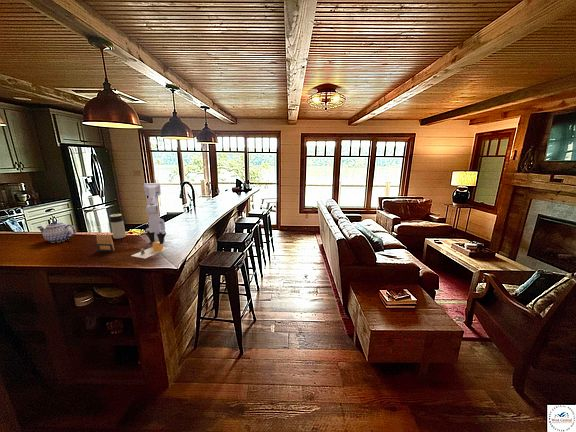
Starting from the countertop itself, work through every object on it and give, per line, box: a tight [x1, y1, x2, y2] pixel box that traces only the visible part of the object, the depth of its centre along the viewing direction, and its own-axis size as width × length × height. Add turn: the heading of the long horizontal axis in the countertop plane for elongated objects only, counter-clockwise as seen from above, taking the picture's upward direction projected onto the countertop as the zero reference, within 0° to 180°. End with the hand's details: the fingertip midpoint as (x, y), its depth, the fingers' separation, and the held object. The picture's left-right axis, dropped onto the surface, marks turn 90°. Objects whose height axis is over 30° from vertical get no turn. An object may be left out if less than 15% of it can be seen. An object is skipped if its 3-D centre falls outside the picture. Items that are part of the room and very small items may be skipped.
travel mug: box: [109, 213, 127, 240], centre depth 176 cm, size 8×8×18 cm
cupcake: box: [151, 241, 164, 252], centre depth 151 cm, size 6×6×5 cm
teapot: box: [36, 220, 77, 244], centre depth 168 cm, size 25×15×15 cm, turn 93°
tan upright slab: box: [96, 233, 116, 253], centre depth 151 cm, size 11×2×12 cm, turn 87°
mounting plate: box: [131, 246, 168, 259], centre depth 148 cm, size 12×18×5 cm, turn 162°
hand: (157, 242), depth 150 cm, fingers open, 7 cm apart
